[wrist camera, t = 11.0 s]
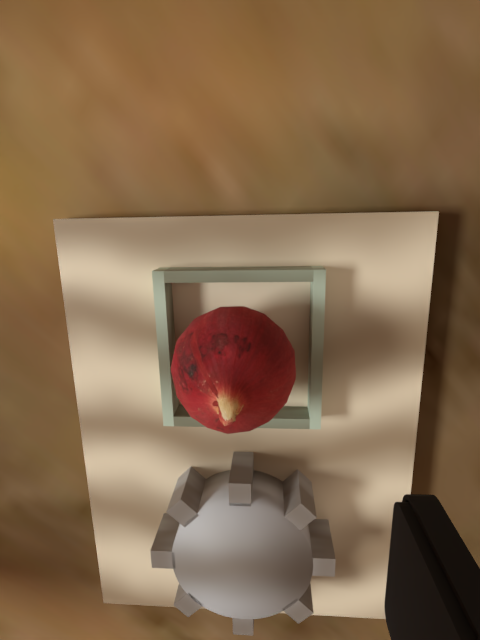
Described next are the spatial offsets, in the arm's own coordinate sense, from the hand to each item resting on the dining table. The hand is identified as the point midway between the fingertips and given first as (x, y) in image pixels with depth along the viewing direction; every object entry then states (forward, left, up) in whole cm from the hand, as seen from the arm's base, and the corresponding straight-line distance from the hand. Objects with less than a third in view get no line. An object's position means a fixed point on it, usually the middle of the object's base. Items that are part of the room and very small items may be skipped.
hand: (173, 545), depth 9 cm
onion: (0, 0, -15) cm, 15 cm away
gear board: (+6, 0, -16) cm, 17 cm away
